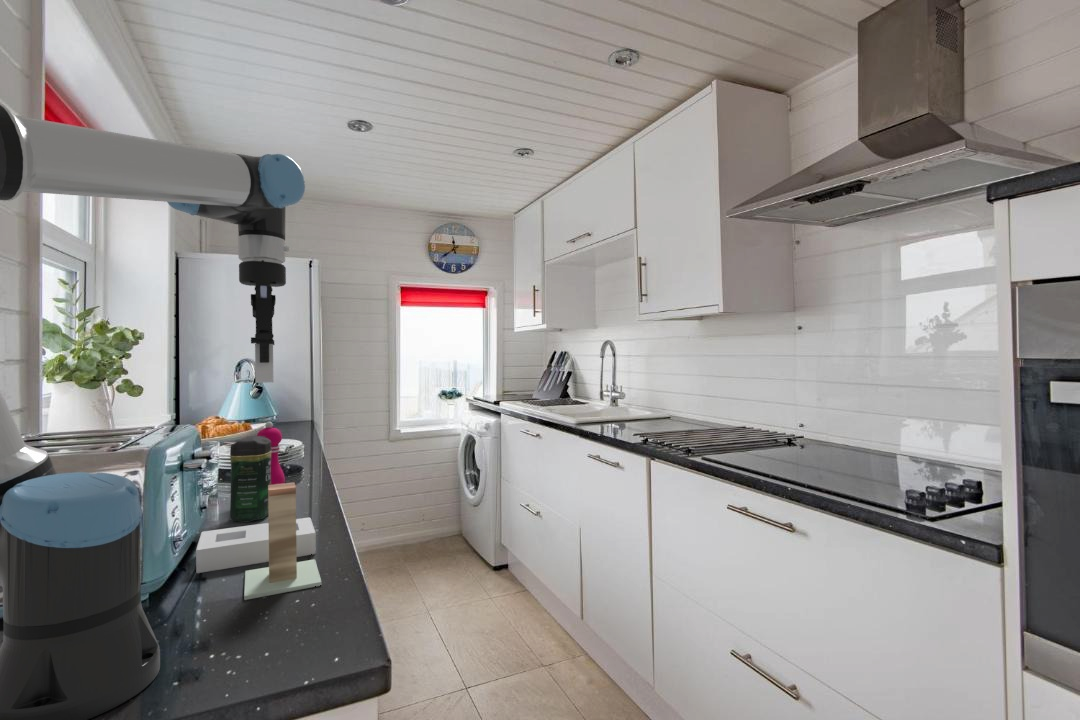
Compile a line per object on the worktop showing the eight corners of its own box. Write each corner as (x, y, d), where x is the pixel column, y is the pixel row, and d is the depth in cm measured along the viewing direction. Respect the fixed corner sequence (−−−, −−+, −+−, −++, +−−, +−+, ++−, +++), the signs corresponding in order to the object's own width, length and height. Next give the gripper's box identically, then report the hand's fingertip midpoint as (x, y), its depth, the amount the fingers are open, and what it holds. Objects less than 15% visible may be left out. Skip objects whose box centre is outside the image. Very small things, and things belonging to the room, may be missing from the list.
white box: (315, 553, 102) (315, 532, 102) (196, 573, 93) (196, 550, 93) (310, 536, 111) (310, 517, 111) (202, 552, 103) (201, 531, 103)
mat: (321, 585, 88) (321, 581, 88) (244, 600, 83) (244, 596, 83) (314, 562, 97) (314, 559, 97) (245, 574, 92) (245, 570, 92)
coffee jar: (264, 522, 122) (263, 439, 121) (225, 524, 120) (224, 440, 120) (276, 509, 131) (275, 433, 131) (240, 512, 129) (239, 434, 129)
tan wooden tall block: (296, 578, 89) (295, 487, 89) (269, 583, 87) (268, 490, 87) (295, 569, 93) (294, 482, 93) (269, 574, 91) (268, 485, 91)
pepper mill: (291, 495, 145) (290, 420, 145) (270, 502, 138) (269, 423, 138) (269, 493, 147) (268, 419, 147) (247, 500, 140) (247, 422, 140)
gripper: (289, 253, 88) (290, 383, 88) (282, 273, 110) (283, 377, 110) (236, 249, 85) (238, 384, 85) (240, 271, 107) (241, 378, 107)
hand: (264, 381), depth 98 cm, fingers open, 13 cm apart
